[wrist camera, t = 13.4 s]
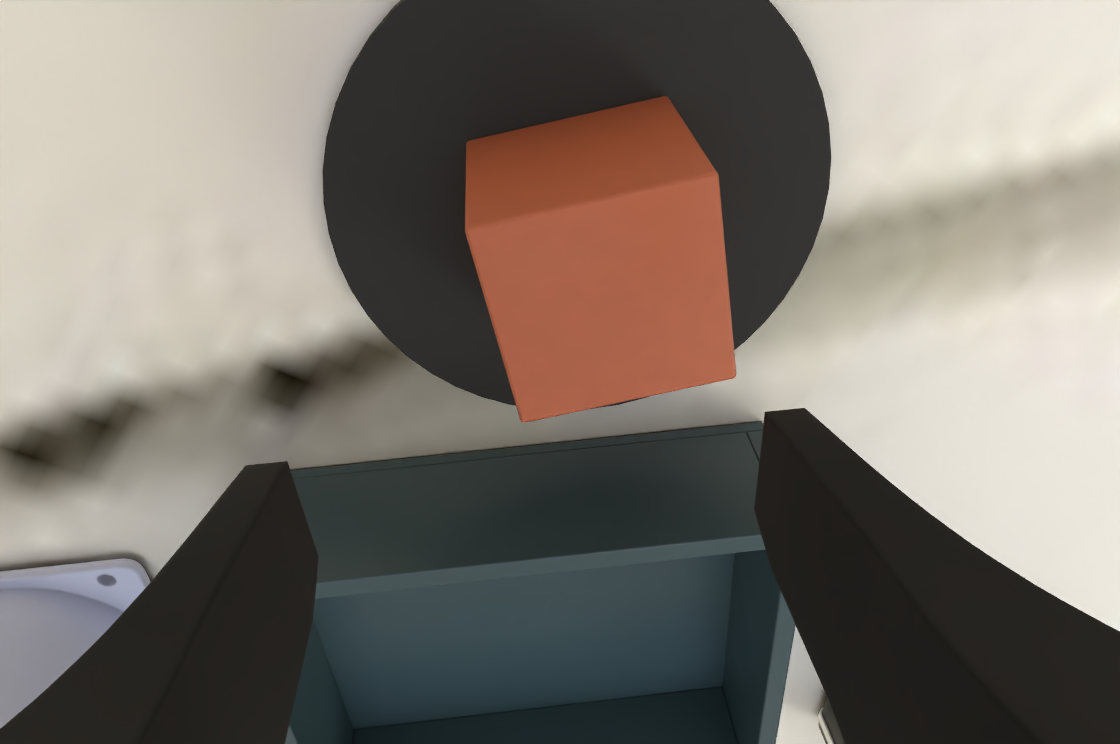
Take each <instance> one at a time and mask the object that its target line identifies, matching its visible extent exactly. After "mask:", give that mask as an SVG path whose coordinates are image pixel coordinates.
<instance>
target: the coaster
mask: <svg viewBox="0 0 1120 744" xmlns="http://www.w3.org/2000/svg"><path fill="white" fill-rule="evenodd" d="M662 96H668V98H669V99H670V101H671V102H672V104H673V106H674V107H675V109H676V110H677V112H678V113H679V115H680V116H681V118H682V119H683V121H684V122H685V124H686V126H687V127H688V129H689V130H690V132H691V133H692V135H693V136H694V138H695V139H696V141H697V142H698V144H699V146H700V147H701V149H702V150H703V152H704V153H705V155H706V156H707V158H708V159H709V161H710V163H711V164H712V166H713V167H714V169H715V170H716V172H717V173H718V175H719V187H720V198H721V209H722V220H723V231H724V243H725V254H726V265H727V276H728V287H729V298H730V310H731V321H732V332H733V343H734V350H735V349H736V348H737V347H739V346H740V345H741V344H742V343H744V342H745V341H746V340H747V339H748V338H749V337H750V336H751V335H752V334H753V333H754V332H755V331H756V330H757V329H758V328H759V327H760V326H761V325H762V324H763V323H764V322H765V321H766V320H767V319H768V317H769V316H770V315H771V314H772V313H773V311H774V310H775V309H776V308H777V306H778V305H779V304H780V303H781V302H782V300H783V299H784V298H785V296H786V294H787V293H788V291H789V290H790V288H791V287H792V285H793V284H794V282H795V280H796V279H797V277H798V276H799V274H800V272H801V270H802V268H803V266H804V264H805V262H806V260H807V258H808V256H809V254H810V252H811V250H812V248H813V245H814V242H815V239H816V236H817V233H818V230H819V227H820V225H821V222H822V219H823V214H824V209H825V204H826V200H827V195H828V190H829V180H830V165H831V147H830V132H829V122H828V117H827V113H826V108H825V103H824V98H823V94H822V91H821V88H820V85H819V83H818V80H817V77H816V75H815V72H814V69H813V66H812V64H811V61H810V60H809V58H808V56H807V54H806V52H805V51H804V49H803V47H802V45H801V43H800V41H799V40H798V38H797V36H796V34H795V32H794V31H793V30H792V29H791V27H790V26H789V25H788V23H787V22H786V21H785V19H784V18H783V17H782V16H781V14H780V13H779V12H778V10H777V9H776V8H775V7H774V5H773V4H772V3H771V2H770V1H769V0H401V1H400V2H399V3H398V4H397V5H395V6H394V7H393V9H392V10H391V11H390V12H389V13H388V15H387V16H386V17H385V18H384V19H383V21H382V22H381V23H380V24H379V26H378V27H377V28H376V29H375V30H374V32H373V33H372V34H371V35H370V37H369V38H368V40H367V42H366V43H365V45H364V47H363V48H362V50H361V51H360V53H359V55H358V56H357V58H356V60H355V61H354V63H353V65H352V66H351V68H350V71H349V73H348V75H347V78H346V80H345V82H344V85H343V87H342V89H341V92H340V94H339V96H338V99H337V101H336V103H335V107H334V111H333V115H332V119H331V122H330V126H329V130H328V134H327V138H326V147H325V155H324V164H323V196H324V207H325V213H326V219H327V225H328V231H329V235H330V239H331V242H332V245H333V248H334V251H335V254H336V257H337V260H338V263H339V266H340V268H341V270H342V272H343V274H344V276H345V278H346V280H347V282H348V284H349V286H350V289H351V291H352V292H353V294H354V295H355V297H356V298H357V300H358V301H359V303H360V304H361V306H362V307H363V309H364V310H365V312H366V314H367V315H368V316H369V317H370V319H371V320H372V321H373V322H374V323H375V324H376V326H377V327H378V328H379V329H380V330H381V331H382V333H383V334H384V335H385V336H386V337H387V338H388V339H389V340H390V341H391V342H392V343H393V344H394V345H395V346H397V347H398V348H399V349H400V350H401V351H402V352H403V353H404V354H405V355H407V356H408V357H409V358H410V359H412V360H413V361H415V362H416V363H417V364H419V365H420V366H422V367H423V368H425V369H426V370H427V371H429V372H430V373H432V374H434V375H436V376H437V377H439V378H441V379H443V380H445V381H447V382H449V383H450V384H452V385H454V386H456V387H459V388H461V389H464V390H466V391H469V392H471V393H473V394H476V395H478V396H481V397H484V398H488V399H492V400H495V401H499V402H502V403H506V404H511V405H516V403H515V400H514V396H513V393H512V389H511V386H510V383H509V379H508V376H507V372H506V369H505V366H504V362H503V359H502V355H501V352H500V349H499V345H498V342H497V338H496V335H495V332H494V328H493V325H492V321H491V318H490V315H489V311H488V308H487V304H486V301H485V298H484V294H483V291H482V288H481V284H480V281H479V277H478V274H477V271H476V267H475V264H474V260H473V257H472V254H471V250H470V247H469V243H468V240H467V237H466V233H465V199H466V143H467V142H468V141H470V140H474V139H478V138H483V137H487V136H491V135H496V134H500V133H505V132H509V131H513V130H518V129H522V128H526V127H531V126H535V125H540V124H544V123H548V122H553V121H557V120H562V119H566V118H570V117H575V116H579V115H583V114H588V113H592V112H597V111H601V110H605V109H610V108H614V107H619V106H623V105H627V104H632V103H636V102H640V101H645V100H649V99H654V98H658V97H662ZM647 397H648V396H647ZM643 398H646V397H643ZM638 399H642V398H638ZM638 399H633V400H629V401H624V402H619V403H615V404H610V405H605V406H600V407H606V406H612V405H619V404H623V403H626V402H630V401H634V400H638ZM596 408H599V407H596ZM591 409H593V408H591Z"/></svg>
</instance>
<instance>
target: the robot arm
mask: <svg viewBox="0 0 1120 744" xmlns="http://www.w3.org/2000/svg"><path fill="white" fill-rule="evenodd" d="M754 511H755V514H756V518H757V521H758V525H759V528H760V532H761V536H762V539H763V543H764V546H765V549H766V553H767V556H768V559H769V562H770V566H771V569H772V571H773V573H774V576H775V578H776V581H777V583H778V585H779V588H780V590H781V592H782V595H783V597H784V599H785V602H786V604H787V606H788V608H789V611H790V613H791V615H792V618H793V620H794V622H795V625H796V627H797V629H798V631H799V634H800V636H801V638H802V640H803V643H804V645H805V647H806V650H807V652H808V654H809V656H810V659H811V661H812V663H813V665H814V668H815V670H816V672H817V675H818V677H819V679H820V681H821V684H822V686H823V688H824V690H825V693H826V695H827V697H828V700H829V702H830V705H831V708H832V710H833V713H834V715H835V718H836V720H837V723H838V726H839V729H840V732H841V735H842V738H843V741H844V744H1120V631H1118V630H1116V629H1114V628H1112V627H1110V626H1108V625H1106V624H1104V623H1102V622H1101V621H1099V620H1097V619H1095V618H1093V617H1091V616H1089V615H1088V614H1086V613H1084V612H1082V611H1080V610H1078V609H1077V608H1075V607H1073V606H1071V605H1069V604H1067V603H1066V602H1064V601H1062V600H1060V599H1058V598H1057V597H1055V596H1053V595H1052V594H1050V593H1048V592H1046V591H1045V590H1043V589H1041V588H1040V587H1038V586H1036V585H1034V584H1033V583H1031V582H1030V581H1028V580H1026V579H1025V578H1023V577H1022V576H1020V575H1019V574H1017V573H1015V572H1014V571H1012V570H1011V569H1009V568H1007V567H1006V566H1004V565H1003V564H1001V563H1000V562H998V561H996V560H995V559H993V558H992V557H990V556H989V555H987V554H986V553H984V552H983V551H981V550H980V549H978V548H977V547H975V546H974V545H972V544H971V543H969V542H968V541H967V540H965V539H964V538H962V537H961V536H960V535H958V534H957V533H956V532H954V531H953V530H951V529H950V528H949V527H947V526H946V525H945V524H943V523H942V522H940V521H939V520H938V519H936V518H935V517H934V516H932V515H931V514H930V513H928V512H927V511H926V510H924V509H923V508H922V507H921V506H919V505H918V504H917V503H915V502H914V501H913V500H911V499H910V498H909V497H908V496H906V495H905V494H904V493H903V492H902V491H900V490H899V489H898V488H897V487H895V486H894V485H893V484H892V483H890V482H889V481H888V480H887V479H886V478H884V477H883V476H882V475H881V474H880V473H878V472H877V471H876V470H875V469H874V468H873V467H871V466H870V465H869V464H868V463H867V462H866V461H864V460H863V459H862V458H861V457H860V456H859V455H857V454H856V453H855V452H854V451H853V450H852V449H851V448H849V447H848V446H847V445H846V444H845V443H844V442H843V441H841V440H840V439H839V438H838V437H837V436H836V435H835V434H834V433H832V432H831V431H830V430H829V429H828V428H827V427H826V426H824V425H823V424H822V423H821V422H820V421H819V420H818V419H817V418H815V417H814V416H813V415H812V414H811V413H810V412H808V411H807V410H806V409H805V408H800V409H790V410H780V411H770V412H765V416H764V425H763V434H762V443H761V452H760V461H759V470H758V479H757V488H756V497H755V506H754ZM318 558H319V556H318V553H317V550H316V547H315V544H314V541H313V538H312V535H311V532H310V529H309V526H308V523H307V520H306V517H305V514H304V511H303V508H302V505H301V502H300V499H299V496H298V493H297V490H296V487H295V484H294V481H293V477H292V474H291V471H290V468H289V465H288V462H287V461H285V462H276V463H266V464H256V465H247V466H245V467H244V468H243V470H242V471H241V472H240V473H239V474H238V476H237V477H236V478H235V479H234V480H233V482H232V483H231V484H230V485H229V487H228V488H227V489H226V490H225V492H224V493H223V494H222V495H221V497H220V498H219V499H218V500H217V502H216V503H215V504H214V506H213V507H212V508H211V509H210V511H209V512H208V513H207V514H206V516H205V517H204V518H203V519H202V521H201V522H200V523H199V524H198V526H197V527H196V528H195V529H194V531H193V532H192V533H191V534H190V536H189V537H188V538H187V539H186V541H185V542H184V543H183V544H182V545H181V547H180V548H179V549H178V550H177V551H176V553H175V554H174V555H173V556H172V557H171V559H170V560H169V561H168V562H167V563H166V565H165V566H164V567H163V568H162V569H161V571H160V572H159V573H158V574H157V575H156V577H155V578H154V579H153V580H152V581H150V579H149V577H148V575H147V573H146V571H145V569H144V568H143V566H142V565H141V564H140V563H138V562H137V561H135V560H132V559H124V558H122V559H113V560H103V561H94V562H85V563H75V564H66V565H56V566H47V567H38V568H28V569H19V570H10V571H0V744H285V741H286V737H287V732H288V728H289V724H290V719H291V715H292V710H293V706H294V702H295V697H296V693H297V689H298V684H299V680H300V675H301V671H302V667H303V662H304V658H305V653H306V649H307V644H308V639H309V635H310V630H311V625H312V621H313V613H314V603H315V594H316V582H317V570H318ZM109 575H110V576H109Z"/></svg>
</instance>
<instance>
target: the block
mask: <svg viewBox="0 0 1120 744" xmlns="http://www.w3.org/2000/svg"><path fill="white" fill-rule="evenodd" d="M465 233H466V237H467V240H468V243H469V247H470V250H471V254H472V257H473V260H474V264H475V267H476V271H477V274H478V277H479V281H480V284H481V288H482V291H483V294H484V298H485V301H486V304H487V308H488V311H489V315H490V318H491V321H492V325H493V328H494V332H495V335H496V338H497V342H498V345H499V349H500V352H501V355H502V359H503V362H504V366H505V369H506V372H507V376H508V379H509V383H510V386H511V389H512V393H513V396H514V400H515V403H516V406H517V410H518V413H519V417H520V420H521V421H522V422H530V421H535V420H539V419H544V418H549V417H554V416H558V415H563V414H568V413H572V412H577V411H582V410H586V409H591V408H596V407H600V406H605V405H610V404H615V403H619V402H624V401H629V400H633V399H638V398H643V397H647V396H652V395H657V394H662V393H666V392H671V391H676V390H680V389H685V388H690V387H694V386H699V385H704V384H709V383H713V382H718V381H723V380H727V379H732V378H734V377H735V376H736V366H735V354H734V343H733V332H732V321H731V310H730V298H729V287H728V276H727V265H726V254H725V243H724V231H723V220H722V209H721V198H720V187H719V175H718V173H717V172H716V170H715V169H714V167H713V166H712V164H711V163H710V161H709V159H708V158H707V156H706V155H705V153H704V152H703V150H702V149H701V147H700V146H699V144H698V142H697V141H696V139H695V138H694V136H693V135H692V133H691V132H690V130H689V129H688V127H687V126H686V124H685V122H684V121H683V119H682V118H681V116H680V115H679V113H678V112H677V110H676V109H675V107H674V106H673V104H672V102H671V101H670V99H669V98H668V96H662V97H658V98H654V99H649V100H645V101H640V102H636V103H632V104H627V105H623V106H619V107H614V108H610V109H605V110H601V111H597V112H592V113H588V114H583V115H579V116H575V117H570V118H566V119H562V120H557V121H553V122H548V123H544V124H540V125H535V126H531V127H526V128H522V129H518V130H513V131H509V132H505V133H500V134H496V135H491V136H487V137H483V138H478V139H474V140H470V141H468V142H467V143H466V199H465Z"/></svg>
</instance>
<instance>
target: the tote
mask: <svg viewBox="0 0 1120 744" xmlns="http://www.w3.org/2000/svg"><path fill="white" fill-rule="evenodd" d="M762 434H763V423H762V422H753V423H744V424H734V425H724V426H715V427H705V428H695V429H686V430H676V431H666V432H657V433H647V434H637V435H628V436H618V437H609V438H599V439H589V440H580V441H570V442H560V443H551V444H541V445H531V446H522V447H512V448H502V449H493V450H483V451H473V452H464V453H454V454H444V455H435V456H425V457H415V458H406V459H396V460H387V461H377V462H367V463H358V464H348V465H338V466H329V467H319V468H309V469H300V470H290V471H291V474H292V477H293V481H294V484H295V487H296V490H297V493H298V496H299V499H300V502H301V505H302V508H303V511H304V514H305V517H306V520H307V523H308V526H309V529H310V532H311V535H312V538H313V541H314V544H315V547H316V550H317V553H318V556H319V558H318V570H317V582H316V594H315V603H314V613H313V621H312V625H311V630H310V635H309V639H308V644H307V649H306V653H305V658H304V662H303V667H302V671H301V675H300V680H299V684H298V689H297V693H296V697H295V702H294V706H293V710H292V715H291V719H290V724H289V728H288V732H287V737H286V741H285V744H775V743H776V737H777V731H778V725H779V719H780V713H781V708H782V702H783V696H784V690H785V684H786V678H787V672H788V666H789V660H790V654H791V648H792V642H793V636H794V631H795V622H794V620H793V618H792V615H791V613H790V611H789V608H788V606H787V604H786V602H785V599H784V597H783V595H782V592H781V590H780V588H779V585H778V583H777V581H776V578H775V576H774V573H773V571H772V569H771V566H770V562H769V559H768V556H767V553H766V549H765V546H764V543H763V539H762V536H761V532H760V528H759V525H758V521H757V518H756V514H755V511H754V506H755V497H756V488H757V479H758V470H759V461H760V452H761V443H762Z"/></svg>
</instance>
